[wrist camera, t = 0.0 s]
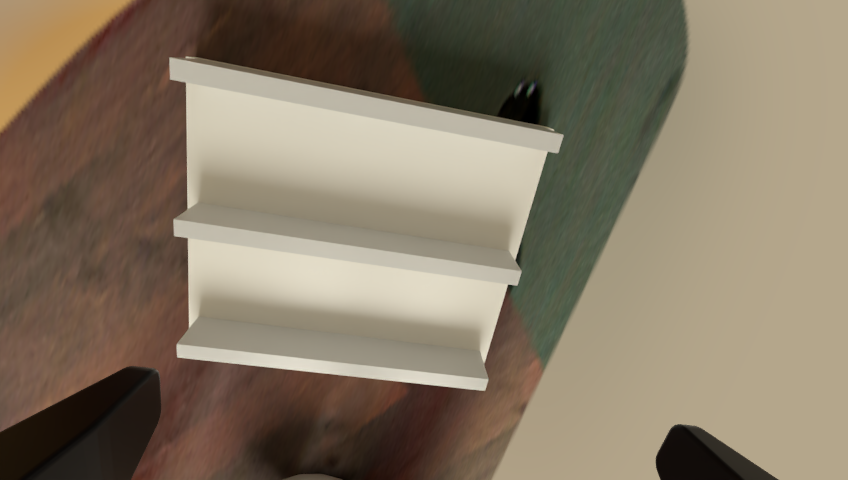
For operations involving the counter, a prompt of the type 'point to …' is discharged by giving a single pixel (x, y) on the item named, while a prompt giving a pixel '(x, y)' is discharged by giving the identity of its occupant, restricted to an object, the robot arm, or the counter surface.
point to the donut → (312, 477)
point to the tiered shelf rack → (348, 226)
